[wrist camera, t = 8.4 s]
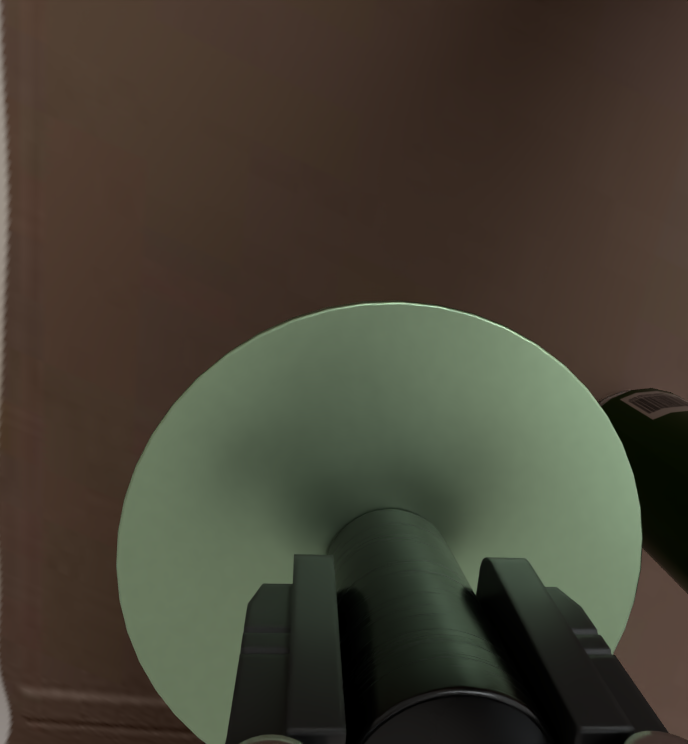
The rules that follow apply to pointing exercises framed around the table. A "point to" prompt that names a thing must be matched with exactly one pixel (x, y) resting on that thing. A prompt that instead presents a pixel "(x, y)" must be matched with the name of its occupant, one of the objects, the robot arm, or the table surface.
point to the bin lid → (377, 514)
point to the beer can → (657, 470)
